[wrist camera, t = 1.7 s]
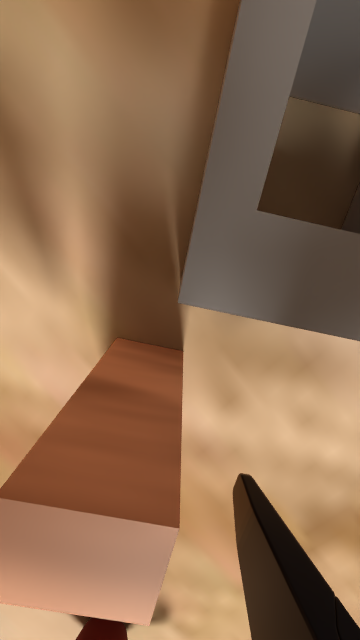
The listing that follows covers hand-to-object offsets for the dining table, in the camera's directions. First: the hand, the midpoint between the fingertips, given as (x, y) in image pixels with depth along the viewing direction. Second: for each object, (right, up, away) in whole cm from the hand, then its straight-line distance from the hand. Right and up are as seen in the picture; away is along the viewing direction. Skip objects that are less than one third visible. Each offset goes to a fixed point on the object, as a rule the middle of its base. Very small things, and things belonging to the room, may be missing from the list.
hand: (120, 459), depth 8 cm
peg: (0, +2, +6) cm, 6 cm away
